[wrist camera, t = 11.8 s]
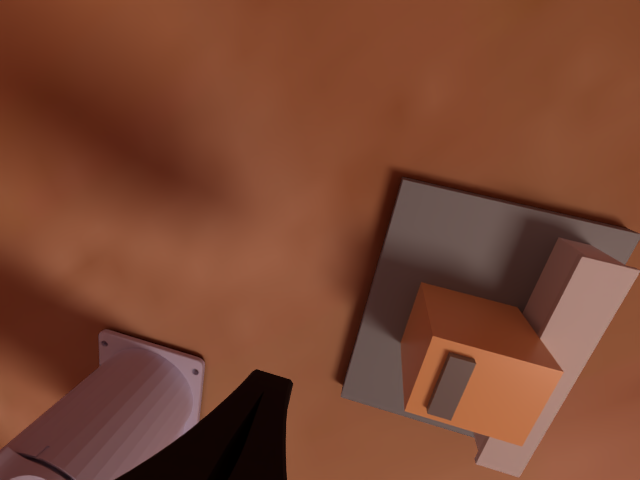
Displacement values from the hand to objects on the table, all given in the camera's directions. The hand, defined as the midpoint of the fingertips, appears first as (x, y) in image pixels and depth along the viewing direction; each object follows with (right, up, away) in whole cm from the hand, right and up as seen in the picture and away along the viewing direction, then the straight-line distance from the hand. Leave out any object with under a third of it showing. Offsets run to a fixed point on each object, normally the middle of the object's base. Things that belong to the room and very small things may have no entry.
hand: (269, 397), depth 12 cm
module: (+9, +1, +7) cm, 12 cm away
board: (+10, +1, +8) cm, 13 cm away
